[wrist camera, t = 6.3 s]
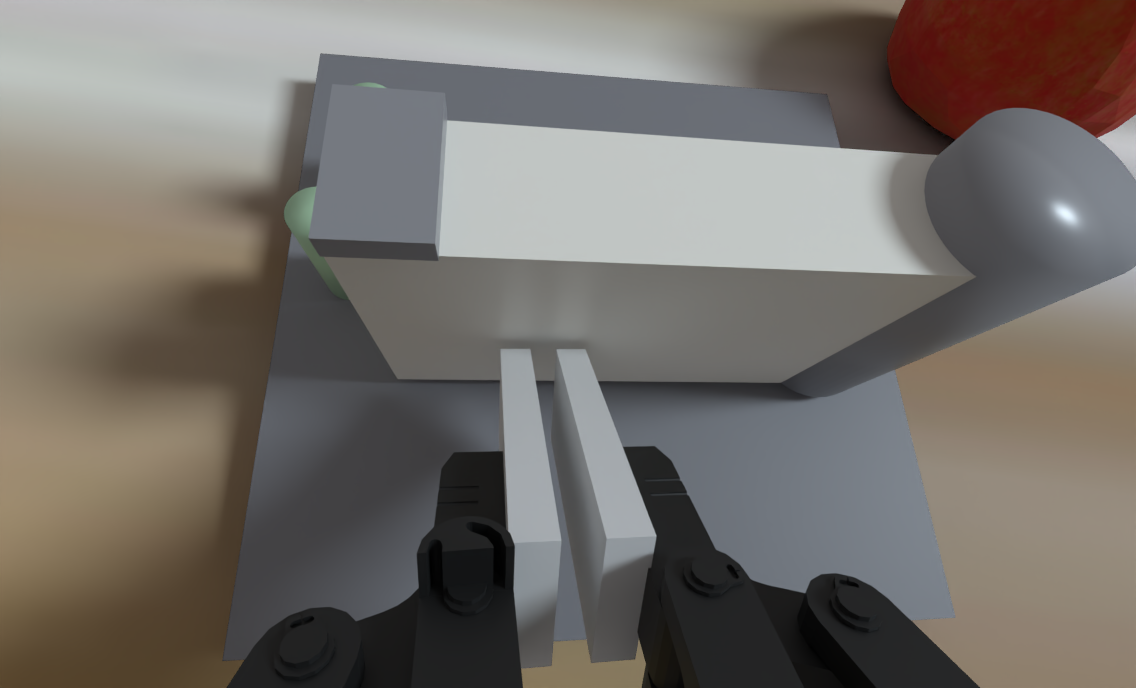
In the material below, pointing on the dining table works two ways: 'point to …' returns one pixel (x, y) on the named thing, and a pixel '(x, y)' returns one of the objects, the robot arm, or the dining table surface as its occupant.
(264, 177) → the dining table surface
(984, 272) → the white slab
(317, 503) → the dial plate
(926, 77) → the apple
